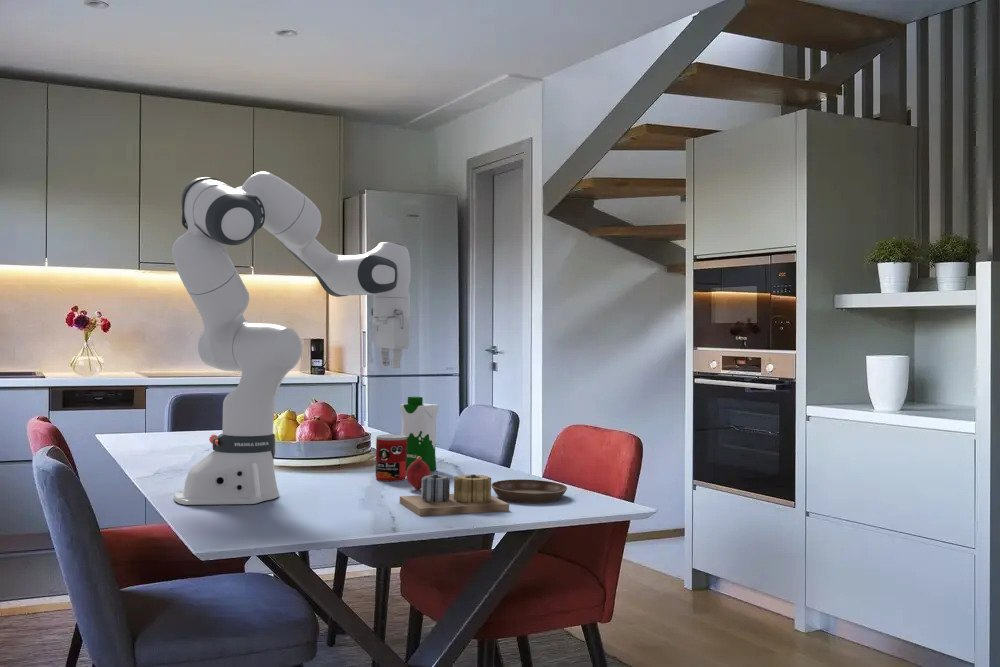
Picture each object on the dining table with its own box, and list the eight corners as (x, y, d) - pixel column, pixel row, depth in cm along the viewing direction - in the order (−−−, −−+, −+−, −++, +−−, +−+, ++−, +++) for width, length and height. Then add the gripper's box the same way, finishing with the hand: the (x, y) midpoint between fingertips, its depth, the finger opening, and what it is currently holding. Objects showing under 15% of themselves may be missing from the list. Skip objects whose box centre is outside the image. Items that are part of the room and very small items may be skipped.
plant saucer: (582, 499, 224) (583, 486, 224) (529, 508, 212) (530, 494, 212) (528, 489, 237) (528, 476, 237) (475, 497, 225) (475, 483, 225)
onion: (426, 492, 228) (427, 458, 228) (402, 490, 229) (403, 457, 229) (432, 488, 233) (433, 455, 233) (410, 487, 235) (410, 454, 234)
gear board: (419, 515, 199) (420, 482, 199) (399, 502, 213) (400, 471, 213) (509, 511, 207) (509, 478, 207) (484, 498, 221) (484, 468, 221)
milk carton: (395, 470, 260) (396, 396, 260) (415, 467, 268) (417, 395, 267) (421, 474, 255) (422, 398, 255) (441, 470, 263) (442, 396, 263)
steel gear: (453, 501, 208) (453, 478, 208) (425, 503, 206) (426, 479, 206) (444, 497, 214) (444, 474, 214) (417, 498, 211) (418, 475, 211)
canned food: (369, 480, 244) (370, 436, 244) (385, 475, 251) (386, 433, 251) (396, 482, 241) (397, 438, 241) (411, 478, 248) (412, 435, 248)
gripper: (416, 310, 225) (415, 369, 225) (393, 310, 244) (392, 365, 244) (390, 309, 223) (388, 369, 223) (368, 310, 242) (367, 365, 242)
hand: (390, 367), depth 234 cm, fingers open, 8 cm apart
